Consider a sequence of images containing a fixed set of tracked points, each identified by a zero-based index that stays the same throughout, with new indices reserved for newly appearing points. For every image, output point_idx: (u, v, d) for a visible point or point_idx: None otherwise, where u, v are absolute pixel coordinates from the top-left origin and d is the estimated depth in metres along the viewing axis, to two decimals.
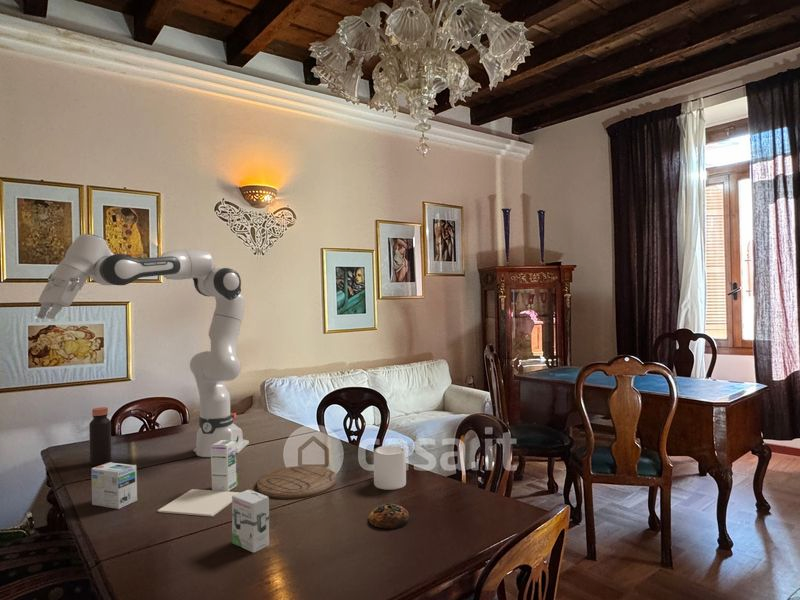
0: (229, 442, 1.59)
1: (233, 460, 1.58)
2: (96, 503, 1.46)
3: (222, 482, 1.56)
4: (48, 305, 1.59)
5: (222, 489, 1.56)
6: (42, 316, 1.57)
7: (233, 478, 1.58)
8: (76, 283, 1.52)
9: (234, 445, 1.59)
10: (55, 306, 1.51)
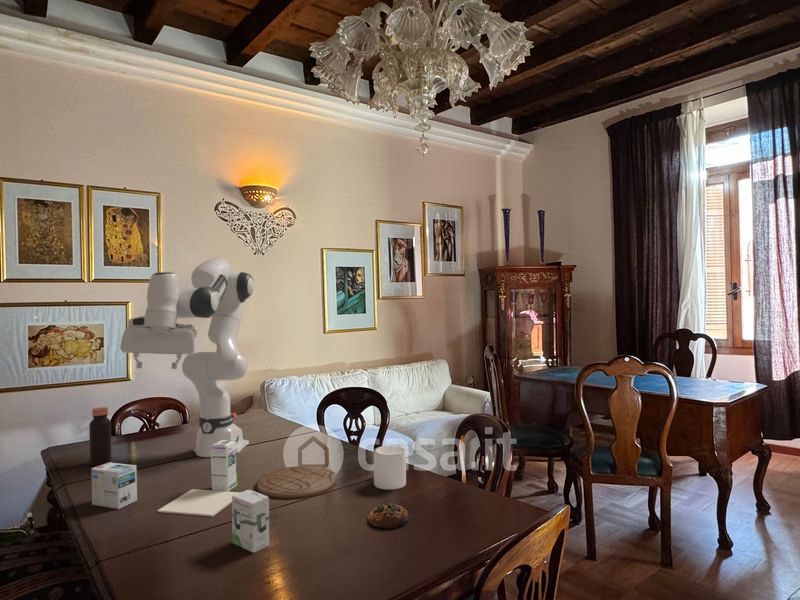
0: (229, 442, 1.59)
1: (233, 460, 1.58)
2: (96, 503, 1.46)
3: (222, 482, 1.56)
4: None
5: (222, 489, 1.56)
6: (141, 366, 1.50)
7: (233, 478, 1.58)
8: None
9: (234, 445, 1.59)
10: (181, 356, 1.54)
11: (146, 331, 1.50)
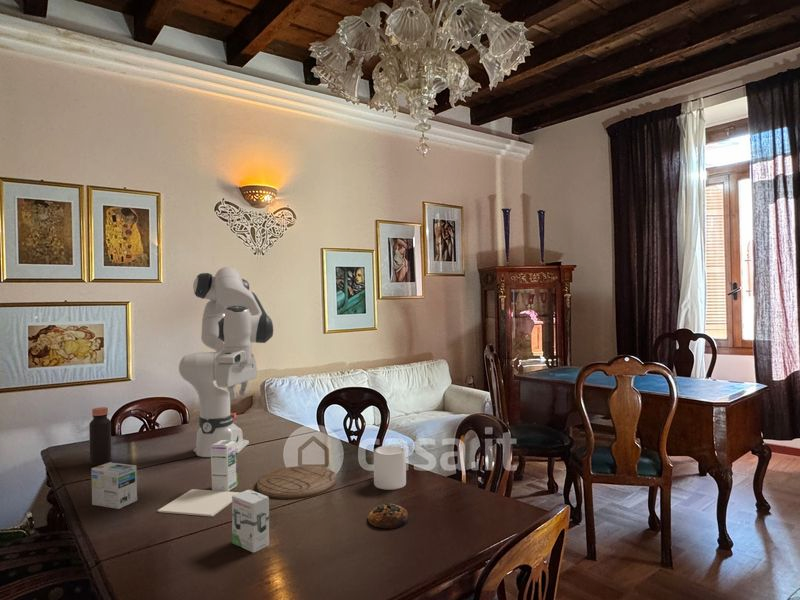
0: (229, 442, 1.59)
1: (233, 460, 1.58)
2: (96, 503, 1.46)
3: (222, 482, 1.56)
4: None
5: (222, 489, 1.56)
6: None
7: (233, 478, 1.58)
8: None
9: (234, 445, 1.59)
10: None
11: (238, 365, 1.63)
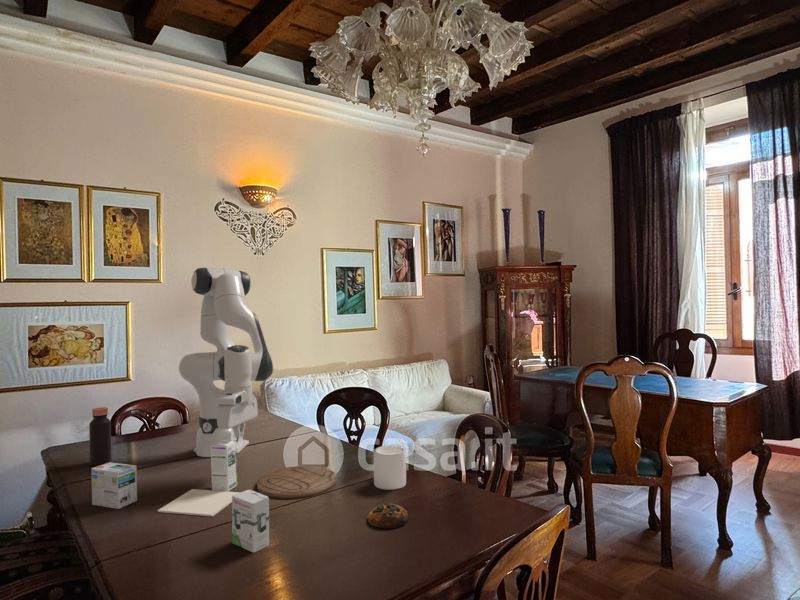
0: (229, 442, 1.59)
1: (233, 460, 1.58)
2: (96, 503, 1.46)
3: (222, 482, 1.56)
4: None
5: (222, 489, 1.56)
6: None
7: (233, 478, 1.58)
8: None
9: (234, 445, 1.59)
10: None
11: (239, 406, 1.63)
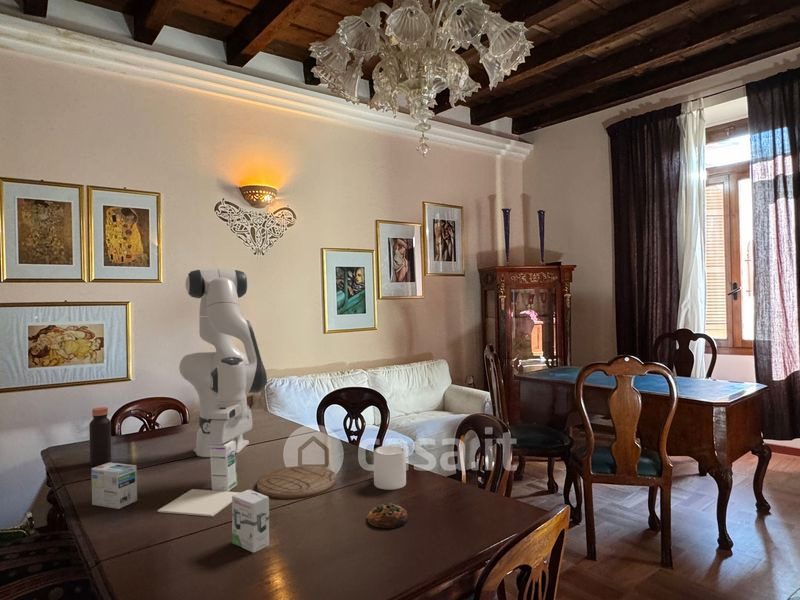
0: (228, 442, 1.58)
1: (232, 460, 1.58)
2: (96, 503, 1.46)
3: (222, 482, 1.55)
4: None
5: (222, 489, 1.56)
6: None
7: (233, 477, 1.58)
8: None
9: (233, 445, 1.59)
10: None
11: (233, 420, 1.59)
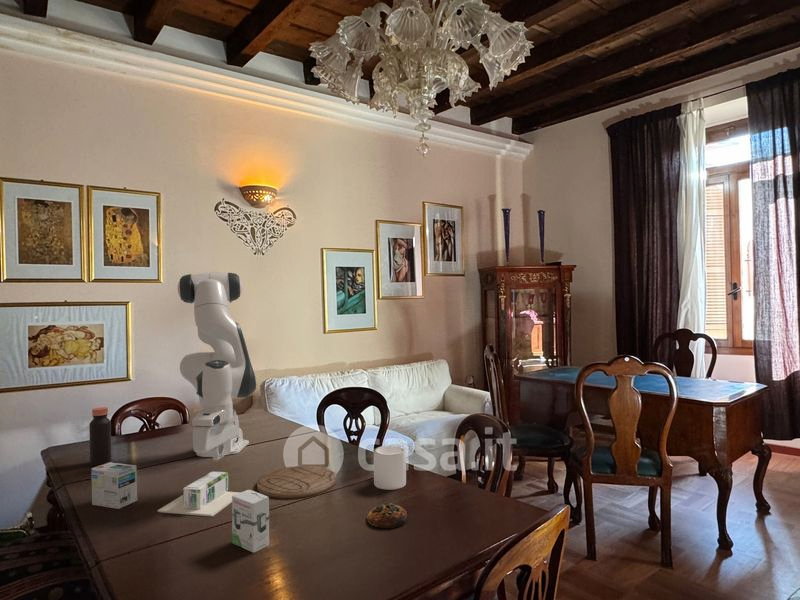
0: (197, 497, 1.42)
1: (212, 491, 1.47)
2: (96, 503, 1.46)
3: None
4: None
5: None
6: None
7: (222, 484, 1.52)
8: None
9: (202, 492, 1.43)
10: None
11: (217, 427, 1.51)
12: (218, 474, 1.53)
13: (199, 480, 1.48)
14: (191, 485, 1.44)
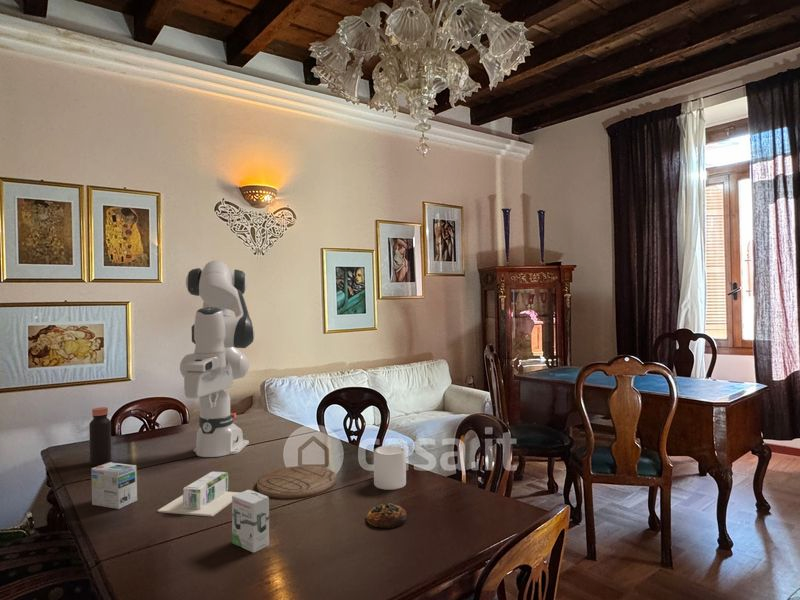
0: (197, 497, 1.42)
1: (212, 491, 1.47)
2: (96, 503, 1.46)
3: None
4: None
5: None
6: None
7: (222, 484, 1.52)
8: None
9: (202, 492, 1.43)
10: None
11: (210, 374, 1.48)
12: (218, 474, 1.53)
13: (199, 480, 1.48)
14: (191, 485, 1.44)
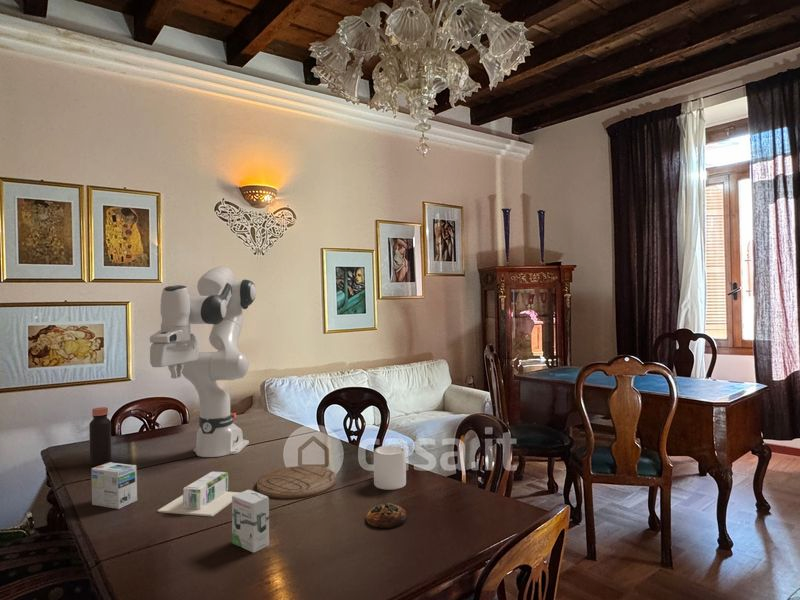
0: (197, 497, 1.42)
1: (212, 491, 1.47)
2: (96, 503, 1.46)
3: None
4: None
5: None
6: None
7: (222, 484, 1.52)
8: None
9: (202, 492, 1.43)
10: None
11: (175, 345, 1.60)
12: (218, 474, 1.53)
13: (199, 480, 1.48)
14: (191, 485, 1.44)
